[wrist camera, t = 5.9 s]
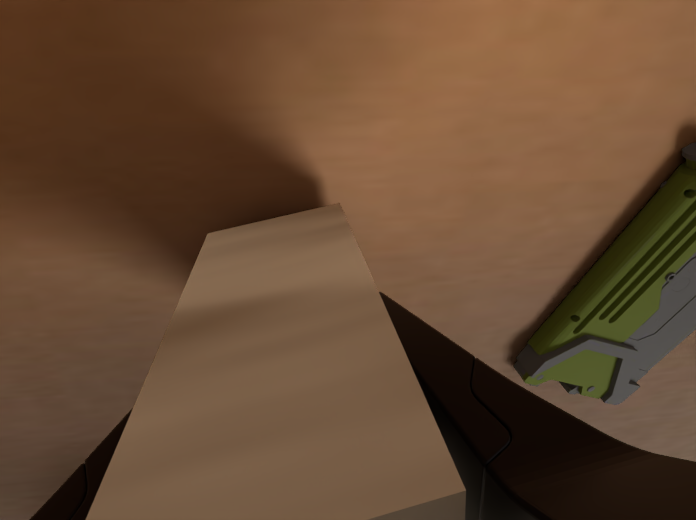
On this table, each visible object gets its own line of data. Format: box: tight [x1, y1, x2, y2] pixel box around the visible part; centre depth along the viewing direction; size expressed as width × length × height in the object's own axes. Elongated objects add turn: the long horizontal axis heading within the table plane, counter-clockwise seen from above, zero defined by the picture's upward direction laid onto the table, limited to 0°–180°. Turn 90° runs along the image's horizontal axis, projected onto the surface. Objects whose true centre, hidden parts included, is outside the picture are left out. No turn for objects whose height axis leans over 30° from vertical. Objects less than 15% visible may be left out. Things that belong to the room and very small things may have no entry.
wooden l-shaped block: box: [86, 203, 466, 520], centre depth 11 cm, size 16×4×8 cm, turn 10°
